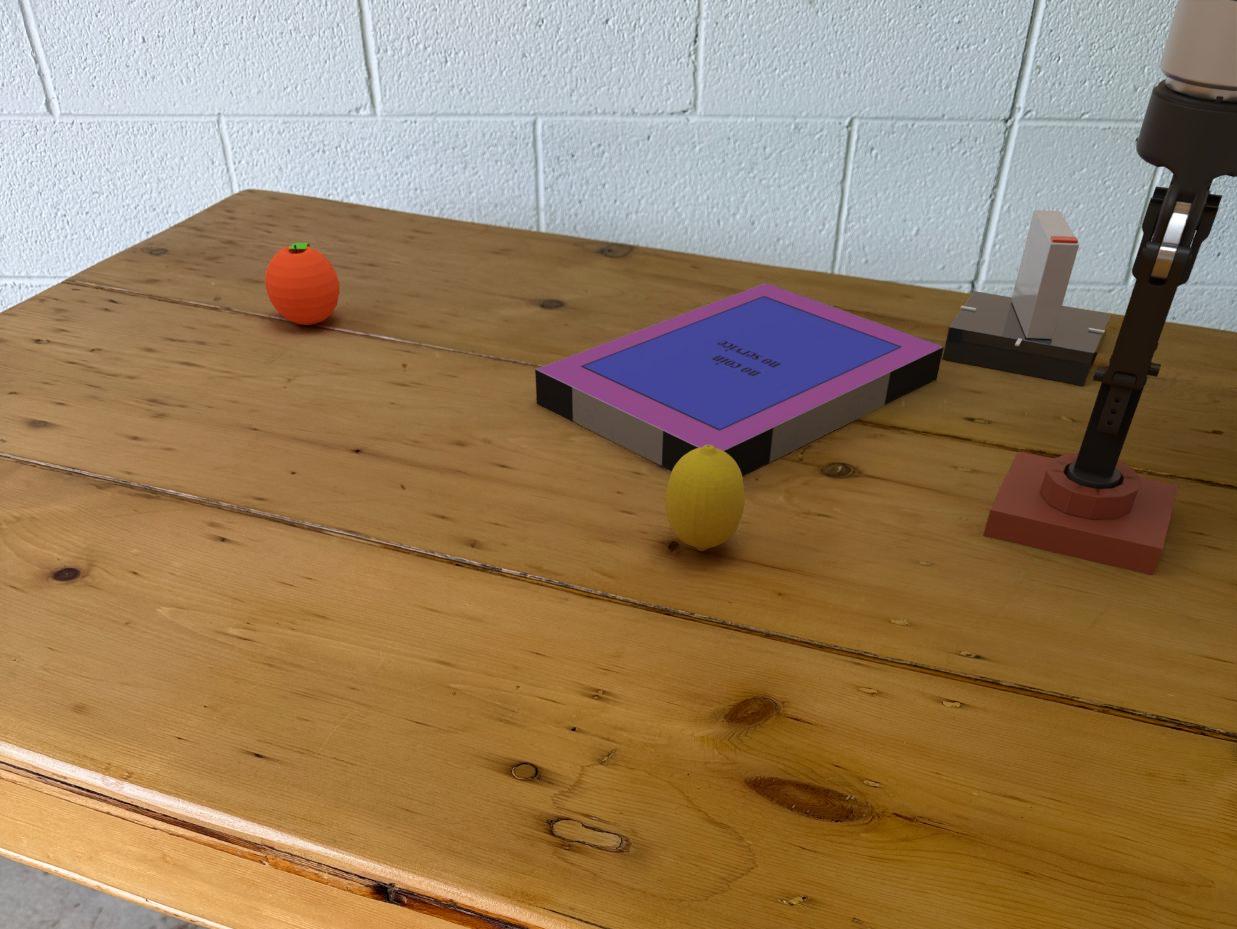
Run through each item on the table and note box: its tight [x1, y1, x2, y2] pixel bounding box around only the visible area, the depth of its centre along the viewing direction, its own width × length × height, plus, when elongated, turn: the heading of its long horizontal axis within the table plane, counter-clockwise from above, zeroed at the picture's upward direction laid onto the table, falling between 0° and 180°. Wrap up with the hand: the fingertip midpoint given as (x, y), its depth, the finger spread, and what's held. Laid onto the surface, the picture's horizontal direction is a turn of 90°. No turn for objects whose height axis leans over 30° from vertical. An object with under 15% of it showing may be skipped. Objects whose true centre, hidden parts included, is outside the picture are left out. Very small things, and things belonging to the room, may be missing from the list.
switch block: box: [982, 451, 1180, 576], centre depth 82 cm, size 12×10×4 cm
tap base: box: [941, 290, 1112, 387], centre depth 104 cm, size 13×13×3 cm
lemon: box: [664, 445, 746, 552], centre depth 78 cm, size 6×6×8 cm
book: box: [534, 282, 945, 477], centre depth 98 cm, size 21×3×30 cm
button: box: [1066, 461, 1121, 489], centre depth 81 cm, size 4×4×2 cm
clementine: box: [264, 242, 341, 326], centre depth 107 cm, size 8×7×7 cm
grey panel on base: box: [1011, 209, 1080, 339], centre depth 100 cm, size 9×2×8 cm, turn 174°
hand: (1094, 467), depth 80 cm, fingers closed
